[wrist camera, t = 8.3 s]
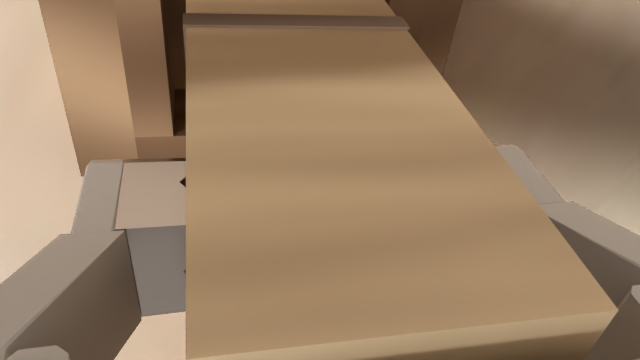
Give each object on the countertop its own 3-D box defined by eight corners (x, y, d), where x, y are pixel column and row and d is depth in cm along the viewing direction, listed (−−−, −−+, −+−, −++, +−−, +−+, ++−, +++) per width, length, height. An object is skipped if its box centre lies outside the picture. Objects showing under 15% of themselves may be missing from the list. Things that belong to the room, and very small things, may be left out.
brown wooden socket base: (-16, -307, 11) (-88, -318, 8) (498, -243, 14) (585, -233, 11) (87, 149, 19) (69, 229, 16) (407, 138, 21) (443, 205, 18)
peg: (182, -26, 11) (179, 356, 4) (373, -21, 12) (626, 305, 5) (194, 138, 14) (202, 542, 7) (349, 133, 14) (496, 488, 8)
